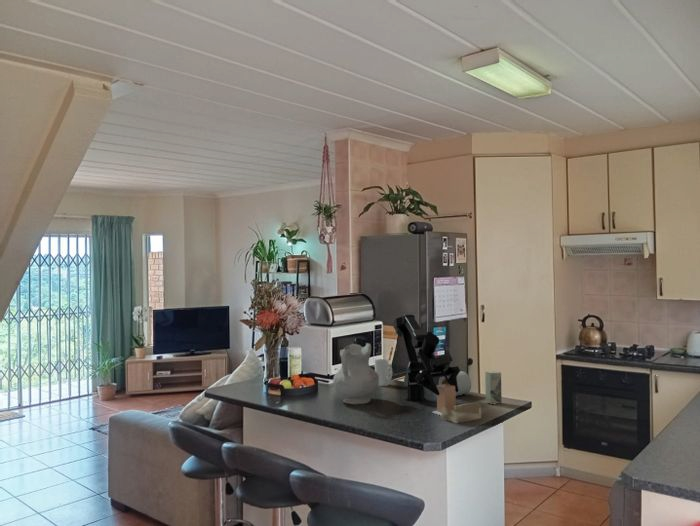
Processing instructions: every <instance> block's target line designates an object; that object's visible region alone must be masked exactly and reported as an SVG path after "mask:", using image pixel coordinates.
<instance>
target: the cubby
mask: <svg viewBox="0 0 700 526" xmlns="http://www.w3.org/2000/svg"><path fill="white" fill-rule="evenodd" d="M441 419H442V420H444V419H446V420H445V421H447V420H449V421H448V422H450V421H452V422H451V423H453V422H454V424H460V423H459V422H461V423H465V421H466V422H469V421H475V420H480V419H482V402H481V401H479V400H478V401H474V402H469V403H468V402H467V403H463V404H458V405H456V406H454V410H450V409H447V408H444V407H443V408H442V416H441Z"/></svg>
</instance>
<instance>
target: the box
mask: <svg viewBox="0 0 700 526" xmlns="http://www.w3.org/2000/svg"><path fill="white" fill-rule="evenodd" d="M484 375H485V379H484V380H485V382H484V383H485V385H484V386H485V403H486V402H488V403H491V404H494V403H502V402H503V400H502V399H503V398H502V372H501V371H497V370H488V371H485V372H484ZM488 403H487V404H488ZM494 405H495V404H494Z"/></svg>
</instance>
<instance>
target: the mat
mask: <svg viewBox="0 0 700 526" xmlns="http://www.w3.org/2000/svg"><path fill="white" fill-rule="evenodd" d="M431 413H432V414H433V413H434V415H436V414H437V415H436V416H439V415H440V416H439V417H442V413H440V412H437V410H434V411H432V412H431Z"/></svg>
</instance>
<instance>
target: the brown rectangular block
mask: <svg viewBox="0 0 700 526" xmlns="http://www.w3.org/2000/svg"><path fill="white" fill-rule="evenodd" d="M436 387H437V389H438V391H439V393H440V394H439V395H436V411H437V412H440V413H442V408H443V407H444V408H447V409H450V410H454V406H457V405H456V404H457V403H456V402H457V398H456V397H457V396H455V386H453V385H449V384H443V385H438V384H437V385H436Z"/></svg>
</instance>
